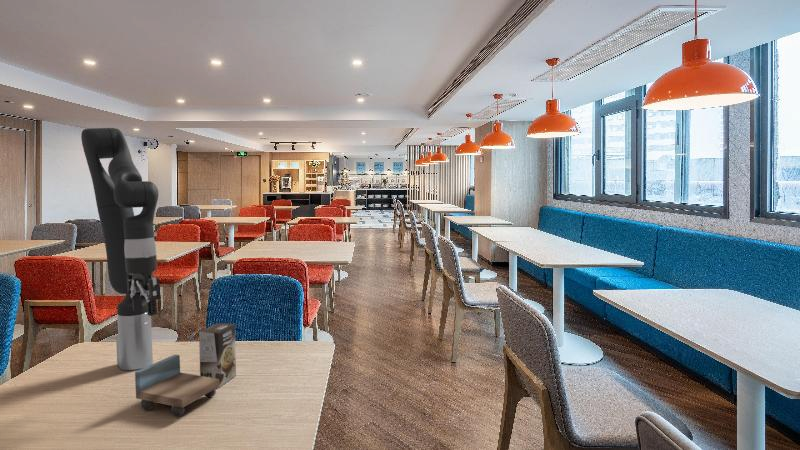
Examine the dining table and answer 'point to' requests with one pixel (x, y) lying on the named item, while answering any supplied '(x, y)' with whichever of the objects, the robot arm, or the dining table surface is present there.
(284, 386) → the dining table surface
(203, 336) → the coffee box
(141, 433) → the dining table surface
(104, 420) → the dining table surface
